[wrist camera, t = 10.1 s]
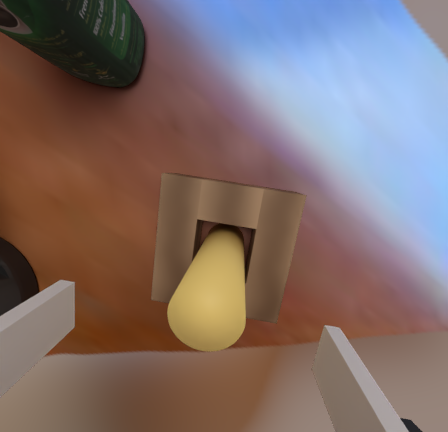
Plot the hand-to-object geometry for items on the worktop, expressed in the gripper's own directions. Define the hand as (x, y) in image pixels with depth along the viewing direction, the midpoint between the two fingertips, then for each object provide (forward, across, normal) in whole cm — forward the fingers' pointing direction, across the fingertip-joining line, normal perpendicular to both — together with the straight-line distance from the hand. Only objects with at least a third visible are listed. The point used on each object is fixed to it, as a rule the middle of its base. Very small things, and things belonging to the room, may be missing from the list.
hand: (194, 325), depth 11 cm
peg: (+15, +1, 0) cm, 15 cm away
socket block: (+15, +1, 0) cm, 15 cm away
